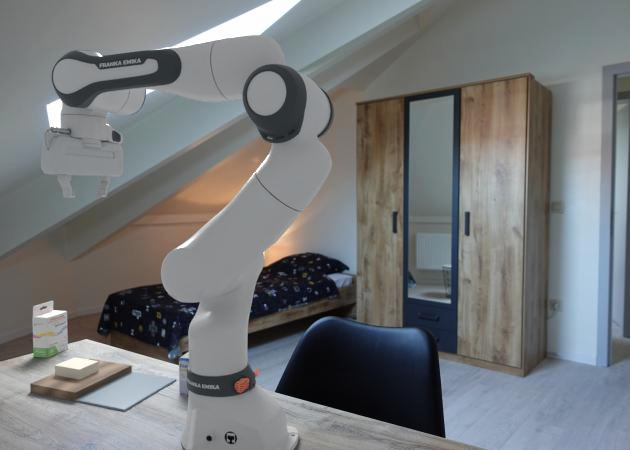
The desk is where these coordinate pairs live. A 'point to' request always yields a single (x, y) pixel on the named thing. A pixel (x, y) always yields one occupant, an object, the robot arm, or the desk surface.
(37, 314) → the ink box
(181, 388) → the medicine box
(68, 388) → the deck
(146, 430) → the desk surface
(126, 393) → the mat
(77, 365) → the tile
